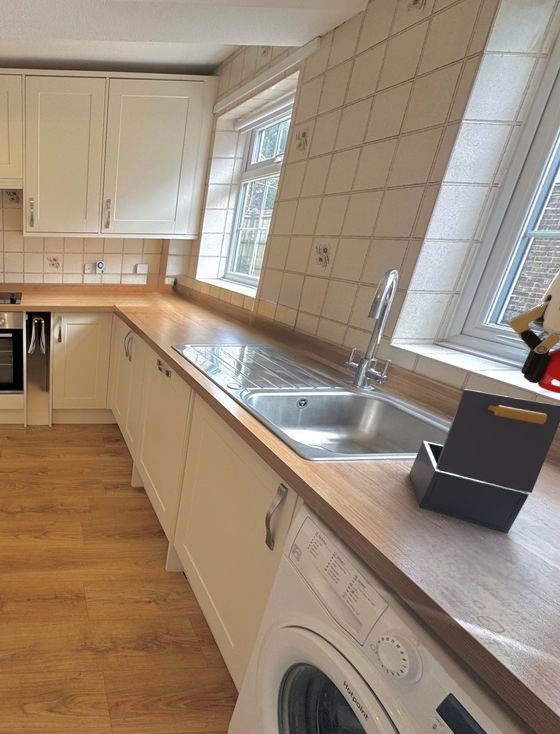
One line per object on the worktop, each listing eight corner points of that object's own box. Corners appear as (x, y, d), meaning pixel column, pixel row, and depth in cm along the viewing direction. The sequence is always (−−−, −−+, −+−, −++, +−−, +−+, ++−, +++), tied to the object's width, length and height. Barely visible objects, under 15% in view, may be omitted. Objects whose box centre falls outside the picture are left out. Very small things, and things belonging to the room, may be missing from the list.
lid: (463, 388, 68) (475, 392, 63) (563, 406, 62) (585, 411, 58) (435, 467, 71) (444, 476, 66) (529, 491, 65) (547, 503, 60)
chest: (409, 473, 84) (422, 440, 81) (485, 493, 78) (503, 458, 75) (419, 507, 73) (435, 470, 71) (508, 533, 68) (529, 494, 65)
